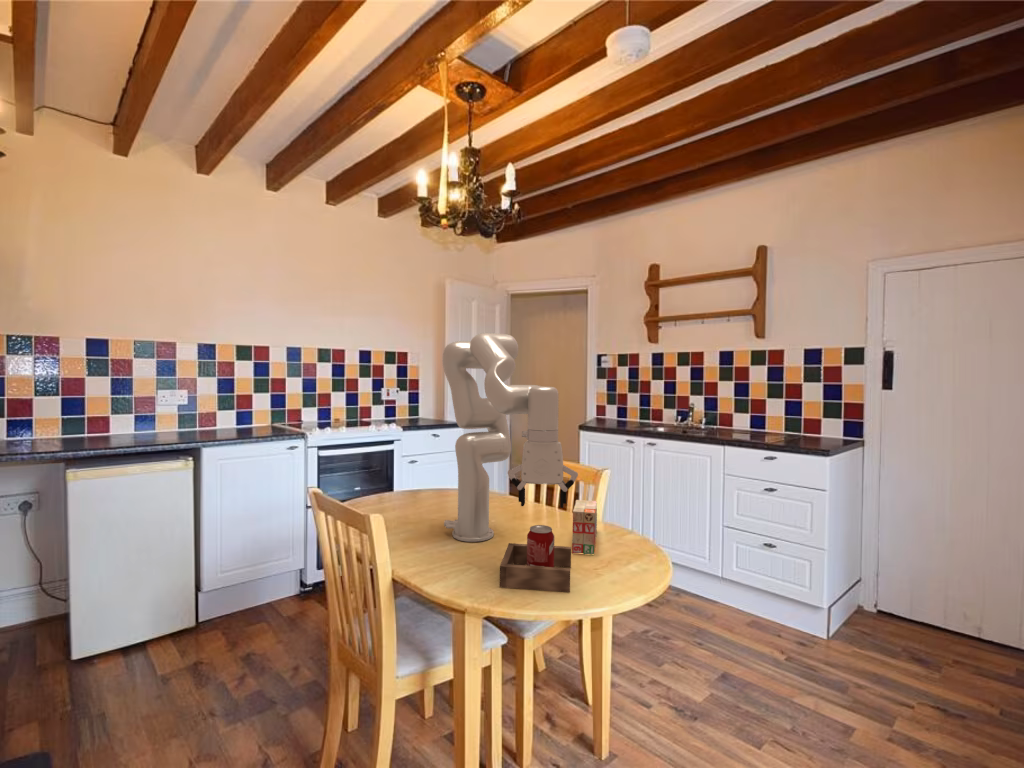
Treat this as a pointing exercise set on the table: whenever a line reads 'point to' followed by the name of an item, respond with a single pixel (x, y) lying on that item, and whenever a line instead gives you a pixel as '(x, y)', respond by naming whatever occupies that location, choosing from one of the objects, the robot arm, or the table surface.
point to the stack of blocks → (584, 527)
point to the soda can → (540, 546)
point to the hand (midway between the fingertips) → (542, 505)
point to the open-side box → (535, 570)
